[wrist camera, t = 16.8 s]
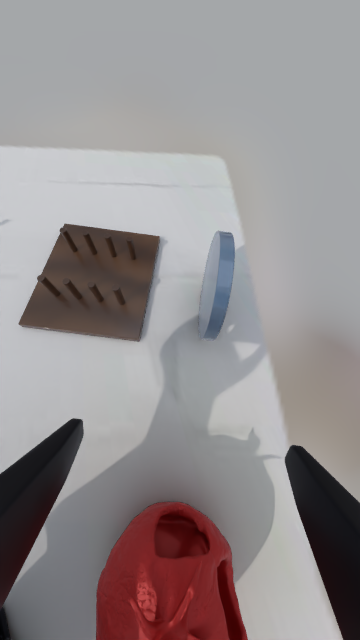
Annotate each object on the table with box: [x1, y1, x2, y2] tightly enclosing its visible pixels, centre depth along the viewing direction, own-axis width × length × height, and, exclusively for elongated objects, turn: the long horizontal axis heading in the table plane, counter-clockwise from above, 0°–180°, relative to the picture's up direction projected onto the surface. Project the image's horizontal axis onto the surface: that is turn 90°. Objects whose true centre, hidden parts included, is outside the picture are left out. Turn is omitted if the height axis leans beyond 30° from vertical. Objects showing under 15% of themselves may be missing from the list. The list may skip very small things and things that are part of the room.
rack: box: [19, 224, 160, 341], centre depth 25 cm, size 16×14×4 cm
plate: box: [199, 231, 235, 341], centre depth 21 cm, size 11×1×11 cm, turn 173°
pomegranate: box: [96, 502, 248, 640], centre depth 13 cm, size 10×10×9 cm
